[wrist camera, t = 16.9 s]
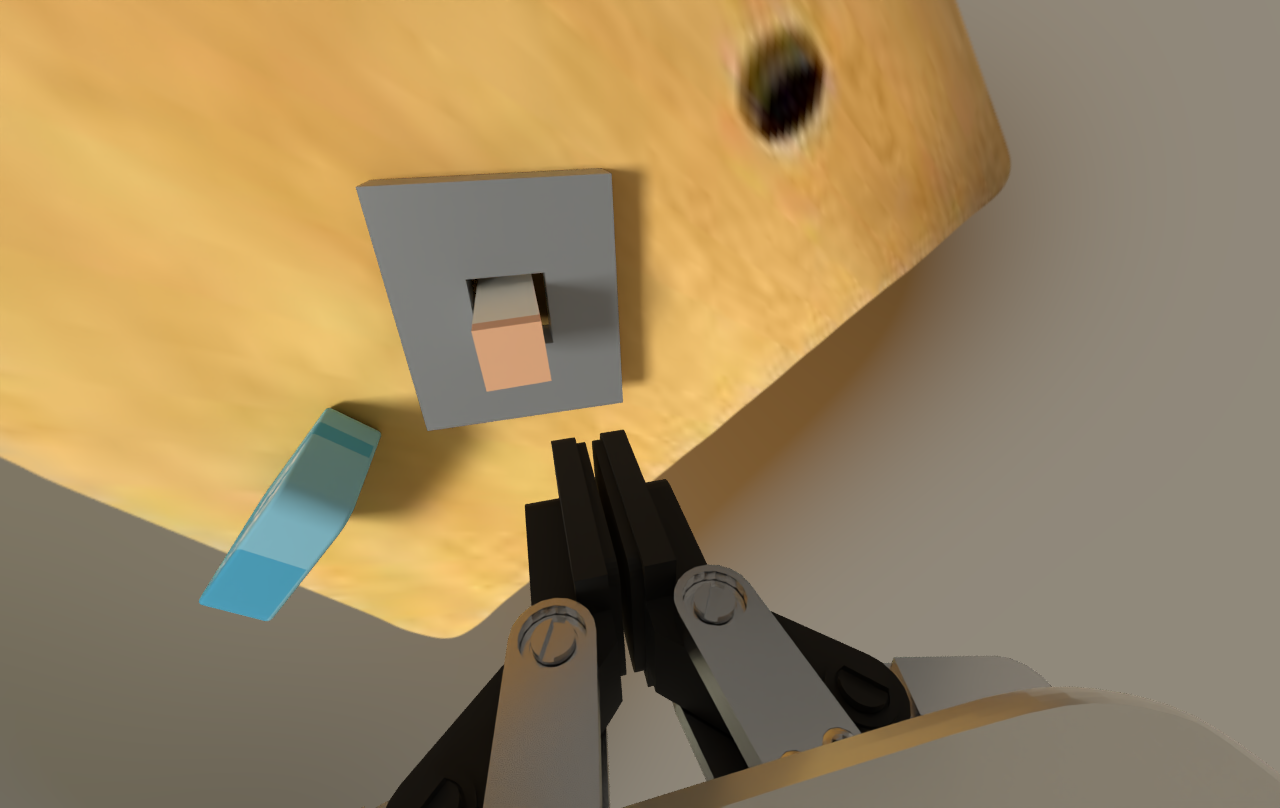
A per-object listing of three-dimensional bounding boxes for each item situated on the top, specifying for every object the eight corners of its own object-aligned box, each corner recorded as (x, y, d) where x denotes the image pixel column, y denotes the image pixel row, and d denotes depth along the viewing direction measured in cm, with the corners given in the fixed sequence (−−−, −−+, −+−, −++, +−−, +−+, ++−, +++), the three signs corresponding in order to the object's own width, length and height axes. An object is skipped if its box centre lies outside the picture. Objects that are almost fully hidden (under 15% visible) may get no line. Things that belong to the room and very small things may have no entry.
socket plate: (369, 180, 34) (355, 187, 30) (600, 168, 37) (611, 173, 33) (433, 406, 43) (427, 430, 39) (613, 381, 46) (622, 402, 42)
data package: (332, 399, 40) (276, 493, 30) (385, 425, 43) (350, 521, 33) (261, 498, 43) (189, 614, 33) (315, 517, 45) (263, 632, 35)
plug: (478, 275, 38) (471, 331, 28) (530, 268, 39) (540, 321, 29) (489, 323, 40) (486, 391, 30) (538, 316, 41) (551, 380, 31)
